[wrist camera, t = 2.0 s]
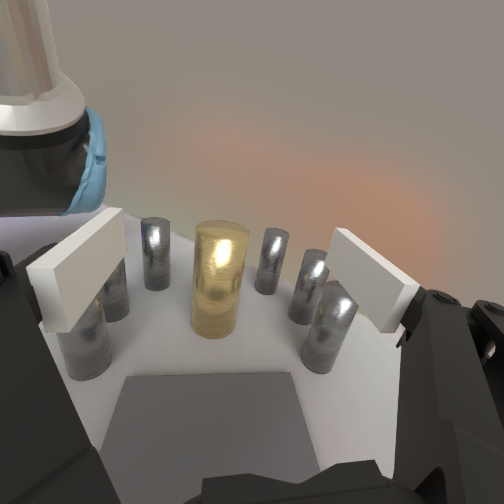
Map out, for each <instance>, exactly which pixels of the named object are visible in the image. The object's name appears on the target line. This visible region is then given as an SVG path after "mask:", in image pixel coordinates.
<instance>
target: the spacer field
mask: <svg viewBox="0 0 504 504" xmlns="http://www.w3.org/2000/svg"><path fill="white" fill-rule="evenodd" d="M141 234H142V250H143V266H144V283H145V287H146V288H147V289H149V290H153V291H159V290H163V289H166V288H167V287H168V286H169V285H170V222H169V221H168V220H167V219H164V218H157V217H151V218H145V219H143V220H141ZM288 239H289V233H288V232H286V231H284V230H282V229H277V228H268V229H266V230H265V235H264V240H263V246H262V251H261V256H260V261H259V267H258V272H257V278H256V283H255V289H256V290H257V291H258V292H259V293H261V294H265V295H271V294H274V293H275V292H276V290H277V285H278V281H279V277H280V273H281V268H282V264H283V260H284V255H285V251H286V247H287V243H288ZM326 256H327V252H325V251H321V250H317V249H308V250H306V251H305V254H304V258H303V262H302V265H301V269H300V272H299V276H298V280H297V283H296V287H295V290H294V294H293V297H292V301H291V305H290V308H289V312H288V315H289V317H290V318H291V320H293V321H294V322H296V323H298V324H301V325H308V324H310V323H312V325H311V328H310V331H309V334H308V337H307V339H306V342H305V345H304V348H303V351H302V354H301V358H302V361H303V363H304V365H305V366H306V367H307V368H308V369H309V370H311V371H312V372H315V373H318V374H326V373H328V372H329V371H330V370H331V368H332V366H333V364H334V362H335V359H336V357H337V355H338V352H339V350H340V348H341V346H342V343H343V341H344V339H345V337H346V334H347V332H348V330H349V327H350V325H351V323H352V321H353V318H354V316H355V314H356V312H357V309H358V307H359V306H358V305H357V303H356V302H355V301H354V300H353V298H352V297H351V296H350V295H349V294H348V292H347V291H346V290H345V289H344V287H343V286H342V285H341V284H340V282H339V281H329V282H327V283H326V280H327V277H328V274H329V271H330V270H329V269H328V268H327V266H326V265H325V264H324V263H325V260H326ZM325 283H326V284H325ZM324 286H325V287H324ZM323 289H324V290H323ZM322 292H323V293H322ZM321 295H322V296H321ZM320 298H321V299H320ZM319 301H320V302H319ZM315 312H316V313H315ZM128 313H129V302H128V293H127V283H126V273H125V263H124V257H123V258H122V260H121V261H120V262H119V264H118V265H117V267H116V268H115V269H114V271H113V272H112V274H111V275H110V276H109V278H108V279H107V281H106V282H105V283H104V285H103V286H102V288H101V289H100V290H99V292H98V293H97V295H96V296H95V297H94V299H93V300H92V302H91V303H90V304H89V306H88V307H87V309H86V310H85V311H84V313H83V314H82V316H81V317H80V318H79V320H78V321H77V323H76V324H75V325H74V327H73V328H72V330H71V331H70V332H69V333H56V334H57V337H58V341H59V344H60V348H61V351H62V354H63V358H64V361H65V365H66V368H67V372H68V375H69V376H70V378H72V379H74V380H77V381H85V380H90V379H93V378H95V377H97V376H99V375H100V374H102V373H103V372H104V371H105V370H106V369H107V368H108V367H109V365H110V363H111V352H110V346H109V339H108V333H107V327H106V322H115V321H118V320H120V319H122V318H124V317H125V316H126V315H127V314H128ZM314 315H315V316H314ZM313 318H314V319H313ZM312 321H313V322H312Z"/></svg>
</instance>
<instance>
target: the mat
mask: <svg viewBox="0 0 504 504" xmlns="http://www.w3.org/2000/svg"><path fill="white" fill-rule="evenodd" d="M99 456H100V458H101V460H102V462H103V464H104V467H105V469H106V471H107V473H108V475H109V478H110V480H111V482H112V484H113V487H114V489H115V491H116V493H117V495H118V498H119V500H120V502H121V504H183V503H184V502H186V501H187V500H189V499H191V498H193V497H195V496H197V495H199V494H201V489H202V479H203V478H209V477H219V476H228V475H237V474H246V473H251V474H255V475H259V476H264V477H268V478H273V479H277V480H281V481H286V482H290V483H295V484H297V483H302V482H304V481H305V480H307V479H309V478H311V477H313V476H315V475H317V474H318V473H320V472H321V471H320V468H319V465H318V462H317V458H316V455H315V452H314V449H313V445H312V442H311V439H310V435H309V432H308V429H307V426H306V422H305V419H304V416H303V412H302V409H301V406H300V403H299V399H298V396H297V393H296V389H295V386H294V383H293V380H292V376H291V373H290V372H277V373H239V374H201V375H162V376H127V377H126V380H125V383H124V385H123V388H122V391H121V394H120V397H119V400H118V402H117V405H116V408H115V411H114V414H113V417H112V419H111V422H110V425H109V428H108V431H107V434H106V437H105V439H104V442H103V445H102V448H101V451H100V454H99Z"/></svg>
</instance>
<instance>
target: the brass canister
mask: <svg viewBox="0 0 504 504" xmlns="http://www.w3.org/2000/svg"><path fill="white" fill-rule="evenodd" d="M248 236H249V231H248V230H247V229H246V228H245V227H243V226H242V225H239V224H237V223H233V222H229V221H222V220H210V221H204V222H201V223H199V224H198V225H197V226H196V233H195V254H194V276H193V298H192V320H191V325H192V328H193V330H194V331H195V332H196V333H197V334H198V335H200V336H202V337H204V338H208V339H219V338H222V337H225V336H227V335H229V334H230V333H231V332H232V331H233V329H234V327H235V321H236V315H237V308H238V302H239V295H240V288H241V282H242V275H243V269H244V262H245V256H246V249H247V243H248Z"/></svg>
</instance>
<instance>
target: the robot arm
mask: <svg viewBox="0 0 504 504" xmlns="http://www.w3.org/2000/svg"><path fill="white" fill-rule="evenodd" d="M105 160H106V142H105V133H104V127H103V122H102V119H101V116H100V115H99V113H98V112H96V111H95V110H92V109H90V108H88V107H86V106H85V102H84V98H83V95H82V93H81V91H80V90H79V88H78V87H77V86H76V85H75V84H74V83H73V82H72V81H71V80H70V79H69V78H68V77H67V76H65V75H64V74H63V73H62V72H61V71H60V70H59V64H58V59H57V54H56V48H55V43H54V38H53V33H52V27H51V22H50V16H49V11H48V6H47V0H0V217H25V216H66V215H68V214H77V213H88V212H92V211H95V210H96V209H98V208H99V207H100V206H101V204H102V202H103V199H104V194H105V188H106V163H105ZM126 253H127V248H126V237H125V227H124V217H123V209H120V208H110V207H108V208H106V209H105V210H104V211H102V212H101V213H100V214H98V215H97V216H95V217H94V218H93V219H91V220H90V221H89V222H87V223H86V224H84V225H83V226H82V227H80V228H79V229H78V230H76V231H75V232H74V233H72V234H71V235H69V236H68V237H67V238H65V239H64V240H63V241H61V242H60V243H53V244H50V245H48V246H45V247H42V248H41V249H39V250H38V251H36V252H35V253H33V255H30V256H29V257H28V258H26V260H23V261H22V262H20V263H19V264H17V265H16V266H14V267H13V264H12V261H11V258H10V255H9V254H8V253H7V252H4V251H0V504H121V502H120V500H119V498H118V495H117V493H116V491H115V489H114V487H113V484H112V482H111V480H110V478H109V475H108V473H107V471H106V469H105V467H104V464H103V462H102V460H101V458H100V456H99V454H98V452H97V450H96V449H95V447H93V446H92V444H91V442H90V440H89V438H88V436H87V434H86V431H85V429H84V427H83V425H82V422H81V420H80V418H79V416H78V413H77V411H76V409H75V407H74V404H73V402H72V400H71V398H70V395H69V393H68V391H67V389H66V386H65V384H64V382H63V380H62V377H61V375H60V373H59V371H58V368H57V366H56V364H55V362H54V359H53V357H52V355H51V353H50V350H49V348H48V346H47V344H46V341H45V339H44V337H43V335H42V332H41V330H40V328H39V326H38V324H39V323H40V322H41V321H43V325H44V328H45V331H46V332H52V333H69V332H70V331H71V330H72V328H73V327H74V325H75V324H76V323H77V321H78V320H79V318H80V317H81V316H82V314H83V313H84V311H85V310H86V309H87V307H88V306H89V304H90V303H91V302H92V300H93V299H94V297H95V296H96V295H97V293H98V292H99V290H100V289H101V288H102V286H103V285H104V283H105V282H106V281H107V279H108V278H109V276H110V275H111V274H112V272H113V271H114V269H115V268H116V267H117V265H118V264H119V262H120V261H121V260H122V258H123V257H124V255H125V254H126ZM324 264H325V265H326V266H327V268H328V269H329V270H330V271H331V273H332V274H333V275H334V276H335V278H336V279H337V280H338V281H339V282H340V284H341V285H342V286H343V287H344V289H345V290H346V291H347V292H348V294H349V295H350V296H351V297H352V298H353V300H354V301H355V302H356V303H357V305H358V306H359V307H360V308H361V309H362V311H363V312H364V313H365V314H366V316H367V317H368V318H369V319H370V321H371V322H372V323H373V324H374V325H375V327H376V328H377V329H378V330H379V332H380V333H395V332H396V330H397V328H398V326H399V324H400V323H401V324H402V325H403V326H404V327H405V328H406V329H405V331H404V333H403V334H402V336H401V338H400V340H399V342H398V343H397V345H396V347H397V348H399V346H401V363H400V380H399V397H398V414H397V431H396V448H395V464H394V474H393V478H392V479H390V478H387V477H384V476H382V474H381V472H380V470H379V468H378V466H377V464H376V462H375V460H366V461H357V462H348V463H339V464H335V465H333V466H331V467H330V468H328V469H326V470H324V471H322V472H320V473H318V474H317V475H315V476H313V477H311V478H309V479H307V480H305V481H304V482H302V483H297V484H295V483H290V482H286V481H281V480H277V479H273V478H268V477H264V476H259V475H255V474H251V473H246V474H237V475H228V476H219V477H209V478H203V479H202V489H201V494H199V495H197V496H195V497H193V498H191V499H189V500H187V501H186V502H184V503H183V504H504V307H503V306H501V305H498V304H496V303H493V302H492V303H491V302H488V301H483V300H478V301H476V303H475V305H474V306H473V307H472V309H471V308H467V307H462V306H461V304H460V303H459V301H458V300H457V299H455V298H453V297H452V296H450V295H448V294H446V293H444V292H440V291H437V290H427V291H426V290H425V289H424V288H422V287H421V286H420V285H419V284H418V283H417V282H415V281H414V280H413V279H411V278H410V277H409V276H408V275H406V274H405V273H404V272H402V271H401V270H400V269H398V268H397V267H396V266H394V265H393V264H391V263H390V262H389V261H388V260H386V259H385V258H384V257H382V256H381V255H380V254H379V253H377V252H376V251H375V250H373V249H372V248H371V247H369V246H368V245H367V244H365V243H364V242H363V241H361V240H360V239H359V238H357V237H356V236H355V235H353V234H352V233H351V232H350V231H348V230H347V229H344V228H335V231H334V234H333V237H332V240H331V244H330V247H329V250H328V253H327V256H326V260H325V263H324ZM494 346H495V347H496V348H495V352H494V354H493V355H492V356H491V358H490V356H489V355H488V353H489V352H490V351H491V350H492V348H493V347H494Z"/></svg>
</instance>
